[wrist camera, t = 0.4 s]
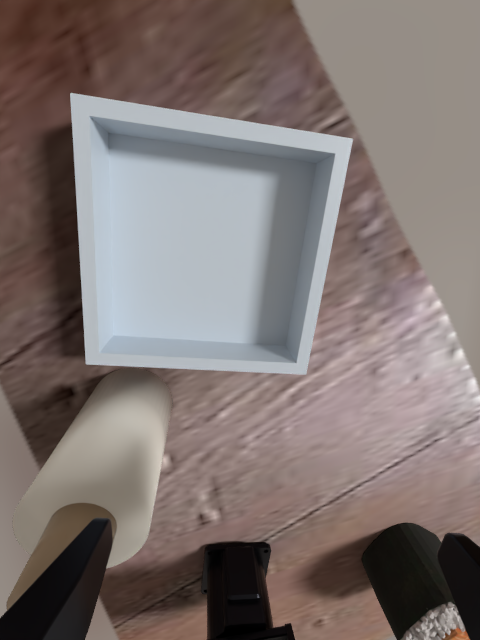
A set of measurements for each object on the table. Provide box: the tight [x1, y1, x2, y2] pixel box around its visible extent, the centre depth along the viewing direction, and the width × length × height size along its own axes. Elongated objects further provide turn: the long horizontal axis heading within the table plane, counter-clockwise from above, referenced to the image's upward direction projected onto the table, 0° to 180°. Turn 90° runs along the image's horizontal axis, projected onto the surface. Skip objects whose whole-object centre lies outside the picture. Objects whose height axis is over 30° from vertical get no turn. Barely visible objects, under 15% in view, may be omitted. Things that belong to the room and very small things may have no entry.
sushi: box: [362, 523, 470, 640], centre depth 29 cm, size 8×8×8 cm
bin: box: [70, 93, 353, 375], centre depth 18 cm, size 14×14×4 cm
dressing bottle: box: [7, 368, 173, 610], centre depth 17 cm, size 6×6×13 cm
